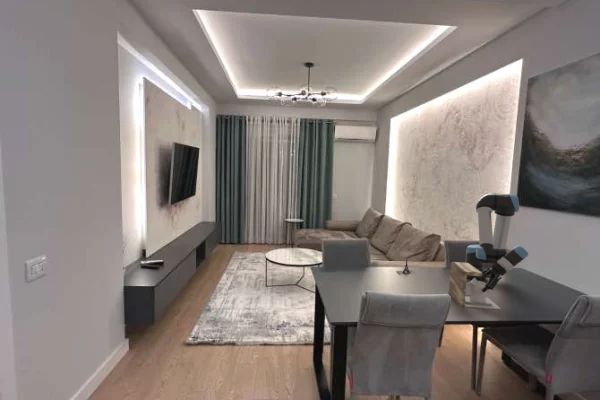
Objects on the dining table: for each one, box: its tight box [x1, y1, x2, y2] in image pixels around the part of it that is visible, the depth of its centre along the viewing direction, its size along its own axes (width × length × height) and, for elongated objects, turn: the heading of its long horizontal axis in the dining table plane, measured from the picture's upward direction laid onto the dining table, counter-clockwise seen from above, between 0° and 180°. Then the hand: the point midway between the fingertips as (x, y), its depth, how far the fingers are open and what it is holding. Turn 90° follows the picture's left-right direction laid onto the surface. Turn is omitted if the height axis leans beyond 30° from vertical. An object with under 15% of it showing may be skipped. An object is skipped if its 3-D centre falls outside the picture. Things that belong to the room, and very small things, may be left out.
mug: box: [469, 280, 488, 303], centre depth 188 cm, size 9×12×11 cm
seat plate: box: [464, 293, 501, 310], centre depth 188 cm, size 18×20×2 cm
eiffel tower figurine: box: [395, 258, 414, 276], centre depth 240 cm, size 15×10×13 cm
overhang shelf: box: [448, 261, 482, 308], centre depth 188 cm, size 10×20×20 cm, turn 173°
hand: (472, 290), depth 188 cm, fingers open, 12 cm apart
